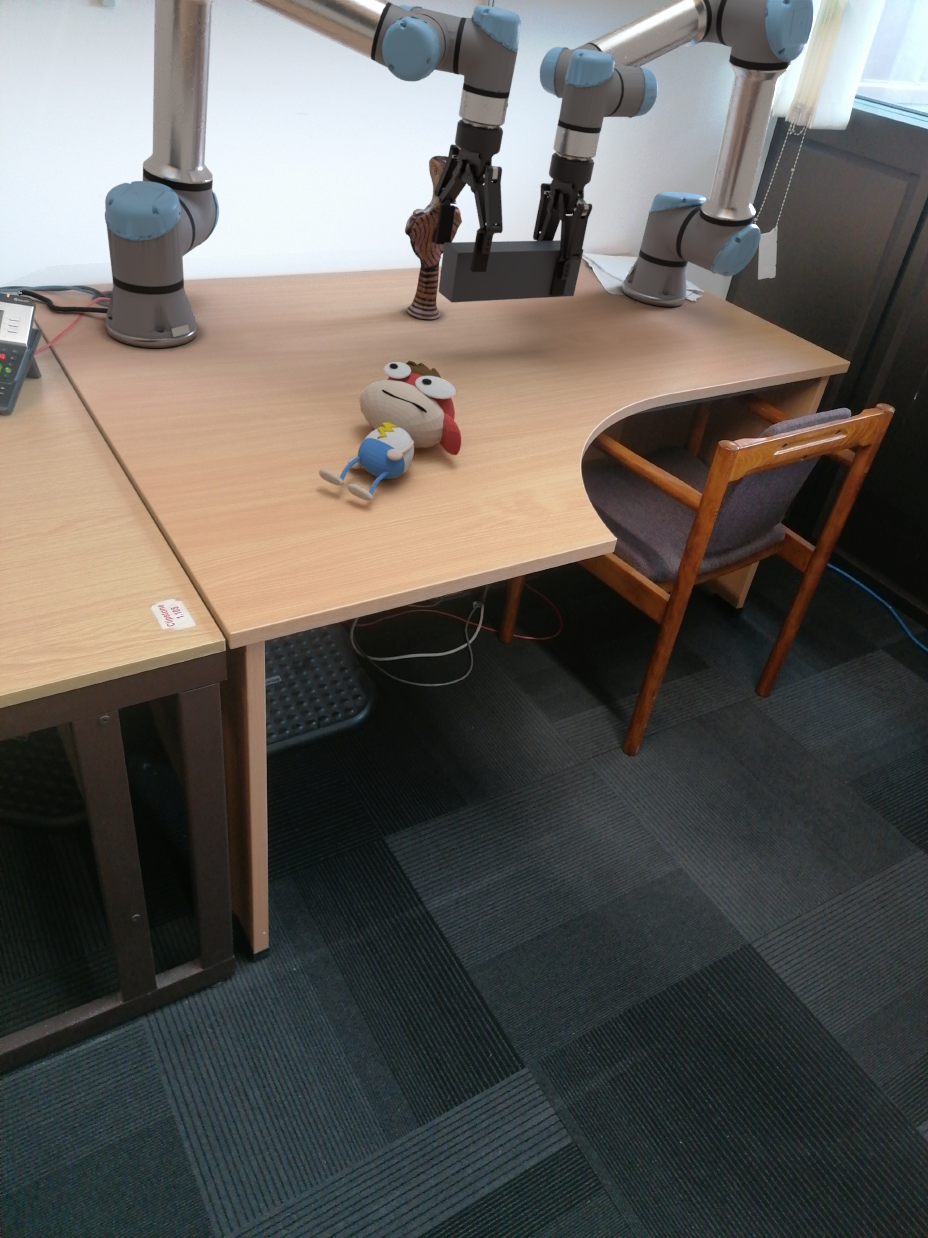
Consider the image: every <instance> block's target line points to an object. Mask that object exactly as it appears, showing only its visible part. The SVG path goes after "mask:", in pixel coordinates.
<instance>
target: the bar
mask: <svg viewBox="0 0 928 1238" xmlns="http://www.w3.org/2000/svg"><path fill="white" fill-rule="evenodd" d="M560 240H561V239H560ZM560 240H553V241H537V240H519V241H518V240H516V241H515V240H511V241H510V240H509V241H507V240H504V241H492V244H491V250H490V253H489V258H488V263H487V269H486V272H472V271H471V270H470V269H471V263H472V257H473V251H474V246H475V241H459V242H457V241H456V242H453V241H452V242H449V243H444V249H443V254H442V257H441V258H442V259H441V265H440V273H439V282H438V293H439V294H440V295H442V296H443V297H444V298H445V299H447V300H448V302H450V303H467V302H468V303H469V302H489V301H490V302H491V301H506V300H509V301H510V300H526V299H546V298H565V297H574V296H575V292H576V286H577V283H578V277H579V273H580V268H581V265H582V260H583V255H584V249H583V248H582V252H581V258H580V260H579V261H572V262H571V266H570V271H569V276H568V278H567V280H566V285H565V290H564V295H560V296H551V295H549V294H550V289H551V284H552V279H553V274H554V268H555V263H556V258H560Z"/></svg>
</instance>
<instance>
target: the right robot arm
mask: <svg viewBox="0 0 928 1238" xmlns="http://www.w3.org/2000/svg"><path fill="white" fill-rule="evenodd" d="M814 20H815V7H814V1H813V0H670V1H669V2H668V3H666V4H663V5H662V6H660V7H658V8H655V9H653V10H652V11H650V12H648V13H646V14H643V15H641V16H639V17H637V18H635V19H634V20H631V21H629V22H627V23H625V24H623V25H621V26H619V27H617V28H615V29H613V30H611V31H608V32H606V33H605V34H602V35H601V36H598V37H596V38H594V39H592V40H590V41H588V42H586V43H584V44H582V45H580V46H577V47H575V48H573V49H570V48H568V47H566V46H564V47H561V46H555V47H552V48H550V49H549V50H548V51H547V52H546V53H545V55H543V58H542V61H541V63H540V65H539V82H540V85H541V87H542V89H543V90H544V91H545V92H546V93H548V94H550V95H553V96H555V97H556V98H557V99H561V104H560V108H559V109H560V111H559V115H558V120H557V125H556V130H555V135H554V140H553V146H552V149H553V151H554V153H553V154H551V159H550V163H549V169H548V175H549V177H550V178H551V179H552V180H551V182H543V183H541V184H540V198H539V203H538V208H537V213H536V218H535V224H534V229H533V234H532V239H533V241H554V240H555V236H556V233H557V230H558V228H559V225H560V258H556V263H555V268H554V274H553V279H552V284H551V289H550V294H549V295H551V296H560V295H564V290H565V285H566V280H567V278H568V276H569V271H570V266H571V262H572V261H579V260H580V258H581V252H582V249H583V246H584V242H585V238H586V237H585V236H586V231H587V227H588V222H589V217H590V215H591V212H592V210H593V204H592V203H587V202H586V200H585V186H586V185H588V184H590V183H591V180H592V176H593V172H594V167H595V161H594V158H595V157H596V155H597V152H598V151H597V150H598V145H599V141H600V135H601V132H602V127H603V123H604V118H629V119H632V118H635V117H641V116H644V115H646V114H647V113H648V112H650V111H651V110H652V109H653V107H654V105H655V103H656V101H657V97H658V92H659V84H658V80H657V77H656V75H655V74H654V72H653V71H652V70H651V69H649V68H647V67H642V66H644V65H646V64H648V63H650V62H652V61H654V60H656V59H658V58H660V57H661V56H664V55H665V54H667V53H669V52H672V51H674V50H676V49H678V48H679V47H681V46H682V47H686V48H689V47H691V48H692V47H694V46H696V45H698V44H700V43H713V44H719V45H723V46H726V47H729V48H730V54H729V59H728V64H729V67H731V70H732V71H733V73H734V74H733V80H732V85H731V89H730V95H729V99H728V105H727V110H726V115H725V119H724V124H723V129H722V133H721V134H722V135H721V140H720V144H719V150H718V156H717V160H716V164H715V169H714V175H713V179H712V184H711V190H710V195H709V197H708V199H707V198H706V197H705V196H703V195H701V194H697V193H691V192H683V191H663V192H659V193H657V194H656V195H655V196H654V198H653V200H652V203H651V205H650V208H649V211H648V215H647V220H646V224H645V228H644V231H643V232H644V233H643V236H642V240H641V244H640V249H639V252H638V256H637V258H636V260H635V261H634V263H633V265H632V266H631V267H630V269H629V270H628V274H627V275H626V277H625V278H624V279H623V284H622V288H621V290H622V291H623V293H624V294H625V295H626V296H628V297H630V298H631V299H633V300H635V301H638V302H641V303H644V304H647V305H651V306H658V307H666V308H669V307H670V308H673V307H679V306H682V305H684V304H685V301H686V297H687V267H688V263H690V264H692V265H695V266H697V267H700V268H703V269H704V270H706V271H708V272H711V273H712V274H714V275H715V274H717V275H720V276H723V277H727V278H728V277H729V278H730V277H733V276H735V275H737V274H739V273H740V272H741V271H742V270H744V269H745V267H747V265H748V264H749V263H750V262H751V261H752V259H753V257H754V256H755V254H756V252H757V250H758V248H759V246H760V242H761V238H762V233H761V229H760V228H759V226H758V225H757V224H756V223H755V224H754V220H755V215H756V208H755V207H754V206H753V205H752V203H751V201H752V196H753V192H754V188H755V184H756V179H757V175H758V171H759V166H760V161H761V157H762V153H763V149H764V145H765V140H766V136H767V132H768V127H769V123H770V119H771V114H772V110H773V106H774V102H775V97H776V92H777V89H778V84H779V80H780V77H781V76H782V75H783V74H784V73H786V71H788V70H790V67H791V64H792V61H795V60H796V59H798V58H799V57H800V56H801V54H802V53H803V52H804V50H805V48H806V44H808V43H809V40H810V38H811V34H812V32H813V27H814Z"/></svg>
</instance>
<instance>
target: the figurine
mask: <svg viewBox="0 0 928 1238" xmlns="http://www.w3.org/2000/svg"><path fill="white" fill-rule="evenodd" d="M447 159H448V156H446V155H434V156H432V157H431V158H430V159H429V161H428V171H429V176H430V179H431V182H432V196H431V197H432V199H431V200H430V202H429V204H427V205H426V206H425V208H416V209H414V210H413V212H412V214H410V216H409V218H408V219H407V221H406V223H405V224H406V225H405V228H404V233H405V235H407V236H408V237H409V242H410V247H411V248H412V251H413V253H414V254H415V255H414V256H416V257H417V258H418V259H419V262H420V269H419V273H418V278H417V279H418V280H417V285H416V291H415V294H414V297H413V299H412V302H411V303H410V305H409V306H408V307H407V308H406V311H407V314H409V315H411V316H413V317H416V318H418V319H421V320H422V319H423V320H436V319H438V318H439V317H441V312H440V311H439V309H438V307H437V296H438V290H439V280H440V262H441V260H442V259H441V258H442V255H443V249H444V244H436V243H435V238H436V231H437V224H438V217H439V210H440V203H439V198H438V197H437V196H435V193H434V192H435V189H436V186H437V184H438V181H439V179H440V176H441V174H442V171H443V169H444V166H445V164H446V161H447ZM442 189H445V188H442ZM454 206H455V214H454V220H453V227H452V234H451V240H450V242H453V241H454V239H455V237H456V235H457V233H458V230H459V228H460V226H461V224H462V223H463V220H462V216H461V214H462V213H461V210H460V208H459V207H458V206H456V205H454Z"/></svg>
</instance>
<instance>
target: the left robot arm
mask: <svg viewBox="0 0 928 1238" xmlns="http://www.w3.org/2000/svg"><path fill="white" fill-rule="evenodd" d="M246 1H247V2H249V3H251V4H253V5H255V6H258V7H260V8H262V9H264V10H267V11H269V12H271V13H273V14H275V15H277V16H279V17H281V18H283V19H285V20H287V21H289V22H292V23H294V24H295V25H298V26H300V27H302V28H304V29H306V30H308V31H311V32H313V33H315V34H317V35H319V36H321V37H324V38H326V39H328V40H330V41H332V42H334V43H335V44H338V45H340V46H342V47H345V48H347V49H349V50H350V51H353V52H356V53H357V54H359V55H362V56H364V57H366V58H368V59H370V60H371V61H373V62H375V63H378V64H379V65H381V66H383V67H385V68H387V69H388V71H389V72H390V73H391V75H392V76H394V77H395V78H397V79H398V80H401V81H404V82H419V81H422V80H424V79H425V78H427V77H430V75H431V74H432V73H433V72H434V71H440V72H445V73H449V74H454V75H458V76H459V75H460V76H463V83H462V89H461V97H460V103H459V110H458V116H459V118H461V119H459V120H458V121H457V124H456V131H455V138H454V144H453V143H452V144H450V145H449V150H448V156H447V157H448V159H447V161H446V164H445V166H444V169H443V171H442V174H441V176H440V179H439V181H438V184H437V186H436V189H435V192H434V193H435V196H437V197H438V198H439V203H440V210H439V217H438V224H437V231H436V238H435V243H436V244H444V243H449V242H450V240H451V234H452V227H453V220H454V214H455V206H456V205H457V199H458V197H459V196H460V194H461V192H462V191H463V190H464V188H465V187H466V185H467V186H468V187H470V192H472V193H473V196H474V201H475V206H476V213H477V218H478V223H479V225H478V226H479V228H478V229H477V230H476V234H475V240H474V242H475V246H474V251H473V257H472V263H471V269H470V270H471V271H472V272H486V269H487V263H488V258H489V253H490V250H491V244H492V242H493V239H494V235H495V234H502V233H503V231H504V229H503V228H504V227H503V224H504V223H503V206H502V205H503V204H502V175H503V168H502V166H496V165H493V157H494V156H496V155H497V154H499V153H500V152H501V146H502V141H503V135H504V130H503V127H502V126H503V125H505V123H506V122H505V121H506V116H507V111H508V110H507V109H508V107H509V98H510V93H511V89H512V82H513V78H514V74H515V67H516V62H517V56H518V52H519V43H520V34H521V28H522V20H521V17H520V15H519V14H518V13H516V12H514V11H512V10H509V9H505V8H502V7H496V6H490V5H487V4H486V5H485V4H478V5H476V6H475V7H474V9H473V13H472V15H471V17H464V16H463V17H461V16H457V15H452V14H449V13H444V12H440V11H436V10H432V9H428V8H423V7H422V6H419V5H416V6H414V5H413V6H412V5H406V4H400V5H398V4H394V3H392V2H390V1H388V0H246ZM214 2H215V0H154V24H153V25H154V26H153V27H154V28H153V29H154V32H153V33H154V35H153V93H152V94H153V96H152V97H153V99H152V101H153V103H152V106H153V107H152V153H151V155H150V156H149V157H147V158H146V159H145V160H143V163H142V180H136V181H135V180H134V181H131V182H130V183H129V182H123V183H120V184H117V185H115V186H113V187H112V188H111V189H110V190H109V191H108V192H107V193H106V195H105V199H104V200H105V201H104V204H105V205H104V206H105V207H104V208H105V209H104V210H105V211H104V220H105V224H106V233H107V241H108V250H109V259H110V268H111V277H112V291H111V295H110V300H109V303H108V307H94V306H93V307H91V306H60V305H55V304H54V301H52V299H51V298H49V297H46V296H44V295H43V294H40V293H37V292H35V291H31V290H29V289H28V290H27V289H21V290H22V291H20V292H22V294H19V296H28V297H31V298H34V299H35V300H38V301H41V302H43V303H45V304H47V307H48V308H49V310H52V311H55V312H58V313H59V312H61V313H91V314H92V313H95V314H106V315H105V326H106V328H105V329H106V332H107V334H108V335H109V336H110V337H111V338H112V339H114V340H116V341H117V342H120V343H123V344H126V345H130V346H133V347H140V348H152V349H157V348H160V349H163V348H171V347H177V346H182V345H184V344H187V343H189V342H191V341H193V340H194V339H195V338H196V337H197V335H198V324H197V320H196V317H195V315H194V311H193V309H192V306H191V304H190V300H189V298H188V296H187V293H186V290H185V278H184V276H185V275H184V260H183V259H184V258H183V257H184V256H185V255H187V254H188V253H189V252H191V251H192V250H194V249H195V248H197V247H199V246H201V245H202V244H203V243H205V242H206V241H207V240H208V239H210V236H211V235H212V233H213V232H214V230H215V229H216V227H217V225H218V221H219V216H220V205H219V201H218V197H217V194H216V192H214V190H213V182H214V176H213V173H212V171H210V169H209V168H208V167H207V165H206V163H205V162H206V161H205V160H206V144H207V143H206V142H207V140H206V139H207V123H208V103H209V102H208V100H209V81H210V61H211V60H210V59H211V42H212V41H211V40H212V39H211V37H212V22H213V21H212V20H213V4H214ZM442 188H445V189H442Z"/></svg>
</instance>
